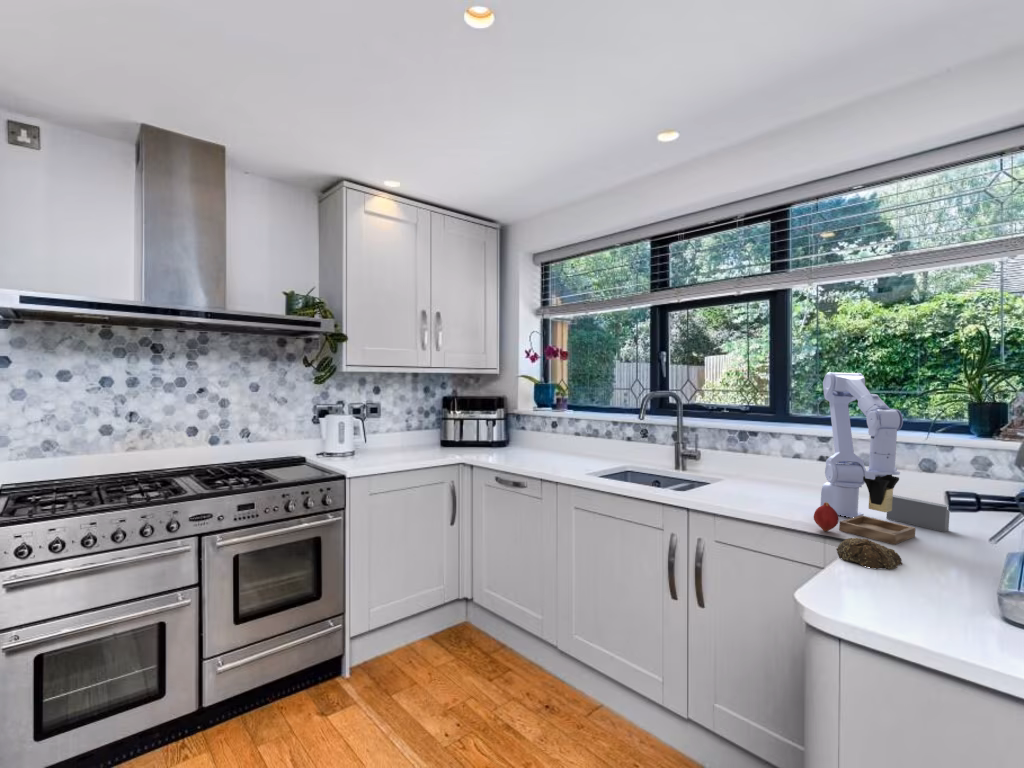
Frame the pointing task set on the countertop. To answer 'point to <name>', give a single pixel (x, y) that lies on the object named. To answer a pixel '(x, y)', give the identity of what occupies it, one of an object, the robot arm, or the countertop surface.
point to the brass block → (883, 501)
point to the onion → (826, 517)
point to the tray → (877, 529)
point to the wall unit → (919, 513)
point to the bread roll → (868, 553)
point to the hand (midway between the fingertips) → (879, 502)
